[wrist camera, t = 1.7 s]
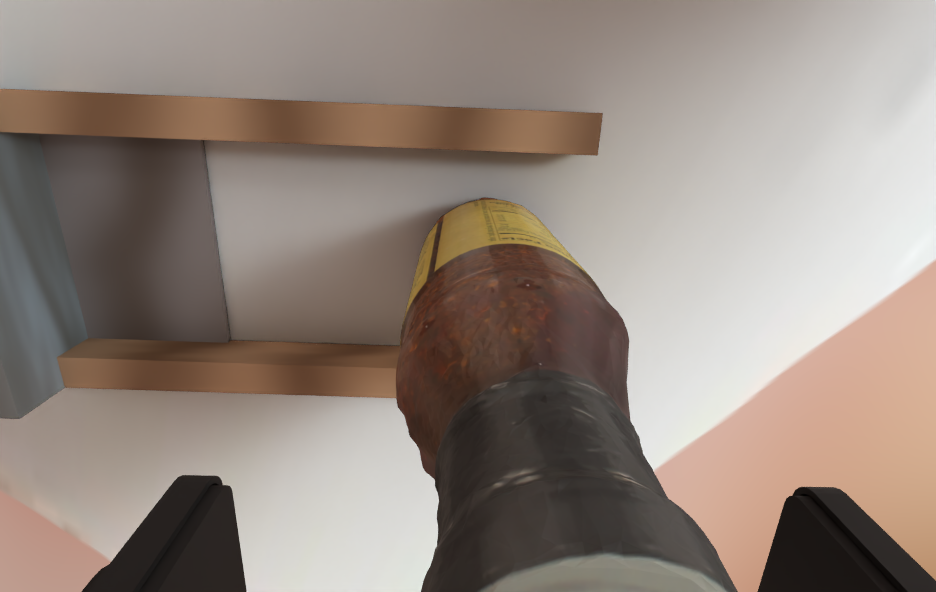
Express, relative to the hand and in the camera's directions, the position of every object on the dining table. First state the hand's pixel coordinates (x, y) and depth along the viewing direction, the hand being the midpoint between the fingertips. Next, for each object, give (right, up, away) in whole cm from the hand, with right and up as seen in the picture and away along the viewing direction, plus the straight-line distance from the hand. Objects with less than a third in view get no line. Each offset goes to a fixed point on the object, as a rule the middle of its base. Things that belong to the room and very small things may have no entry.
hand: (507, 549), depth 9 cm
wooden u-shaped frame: (-8, +7, +16) cm, 19 cm away
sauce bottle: (0, +6, +16) cm, 17 cm away
